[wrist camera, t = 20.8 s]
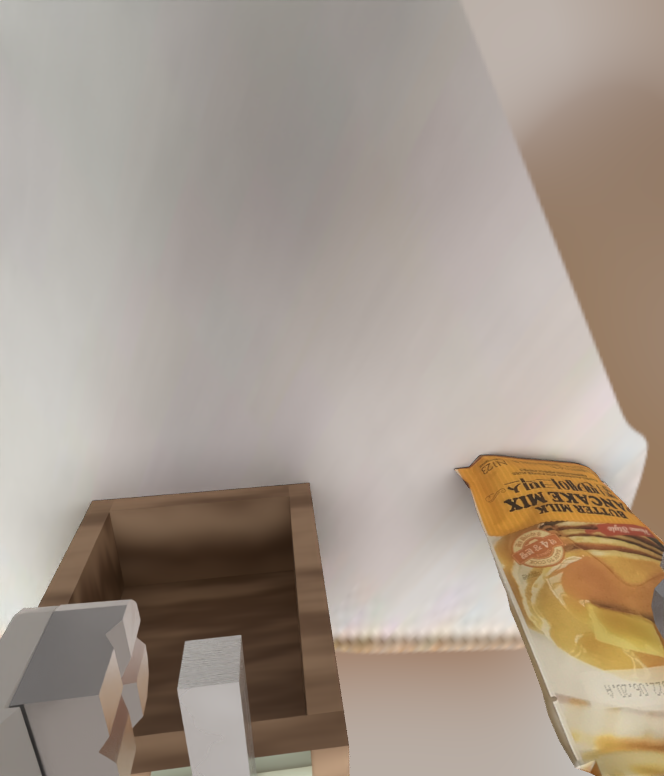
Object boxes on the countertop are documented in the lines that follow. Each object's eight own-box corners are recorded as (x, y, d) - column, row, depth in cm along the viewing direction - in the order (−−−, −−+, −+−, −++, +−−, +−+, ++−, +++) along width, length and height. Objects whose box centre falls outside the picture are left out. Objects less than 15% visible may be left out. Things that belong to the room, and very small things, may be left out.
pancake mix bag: (601, 519, 58) (870, 796, 33) (430, 505, 55) (579, 800, 29) (623, 463, 56) (931, 714, 30) (446, 446, 53) (623, 709, 27)
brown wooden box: (92, 501, 51) (-71, 817, 26) (309, 482, 53) (351, 760, 28) (111, 587, 54) (-16, 936, 30) (313, 567, 56) (353, 879, 32)
